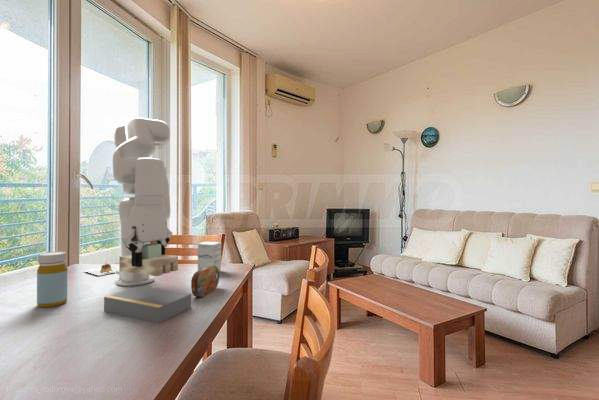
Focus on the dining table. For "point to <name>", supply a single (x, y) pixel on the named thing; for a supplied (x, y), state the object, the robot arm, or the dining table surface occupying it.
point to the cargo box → (150, 250)
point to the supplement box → (209, 255)
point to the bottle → (52, 279)
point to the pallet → (150, 265)
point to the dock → (147, 303)
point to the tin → (205, 281)
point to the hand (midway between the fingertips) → (149, 263)
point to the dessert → (103, 269)
